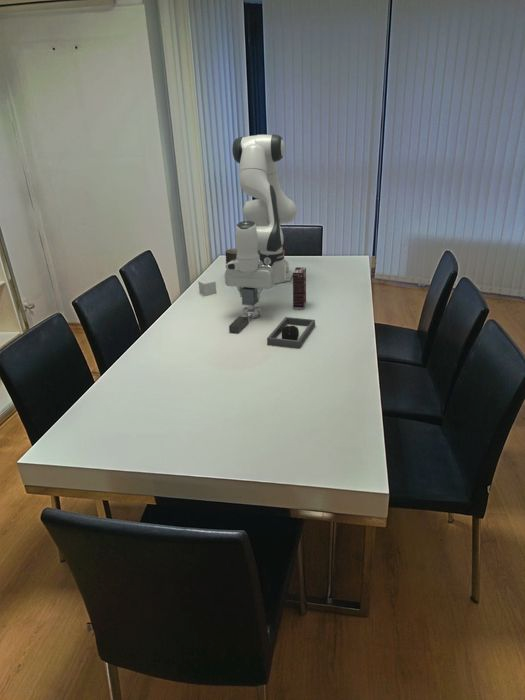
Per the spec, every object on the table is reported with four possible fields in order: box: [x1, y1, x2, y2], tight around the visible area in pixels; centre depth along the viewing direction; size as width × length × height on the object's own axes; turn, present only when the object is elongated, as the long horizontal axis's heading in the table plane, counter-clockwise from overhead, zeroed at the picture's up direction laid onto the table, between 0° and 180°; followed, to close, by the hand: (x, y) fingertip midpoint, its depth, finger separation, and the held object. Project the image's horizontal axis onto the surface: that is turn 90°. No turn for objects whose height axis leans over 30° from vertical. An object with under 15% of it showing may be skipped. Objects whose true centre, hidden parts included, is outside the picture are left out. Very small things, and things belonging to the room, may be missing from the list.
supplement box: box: [292, 266, 307, 310], centre depth 205 cm, size 9×5×16 cm, turn 168°
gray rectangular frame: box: [266, 316, 316, 349], centre depth 181 cm, size 21×12×2 cm, turn 159°
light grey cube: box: [198, 278, 218, 297], centre depth 228 cm, size 6×6×6 cm
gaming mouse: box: [281, 325, 300, 340], centre depth 179 cm, size 6×15×4 cm, turn 174°
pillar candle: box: [225, 248, 237, 265], centre depth 248 cm, size 10×10×15 cm
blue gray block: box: [241, 287, 260, 306], centre depth 197 cm, size 5×5×6 cm
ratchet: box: [228, 304, 261, 334], centre depth 193 cm, size 22×7×6 cm, turn 159°
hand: (250, 297), depth 197 cm, fingers closed on blue gray block, 5 cm apart
